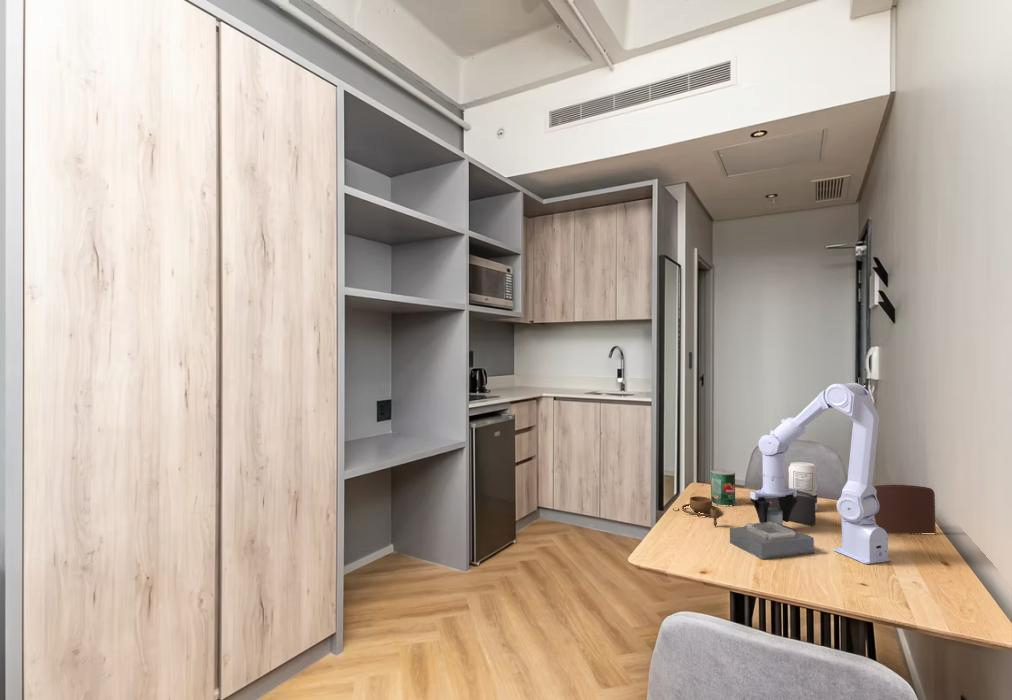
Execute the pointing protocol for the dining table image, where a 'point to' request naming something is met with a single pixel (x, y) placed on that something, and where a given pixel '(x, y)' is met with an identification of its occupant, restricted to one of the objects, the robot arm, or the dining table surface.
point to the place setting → (703, 507)
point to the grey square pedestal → (771, 540)
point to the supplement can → (803, 478)
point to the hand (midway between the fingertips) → (773, 522)
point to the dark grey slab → (799, 508)
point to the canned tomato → (723, 487)
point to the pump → (775, 515)
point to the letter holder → (905, 509)
